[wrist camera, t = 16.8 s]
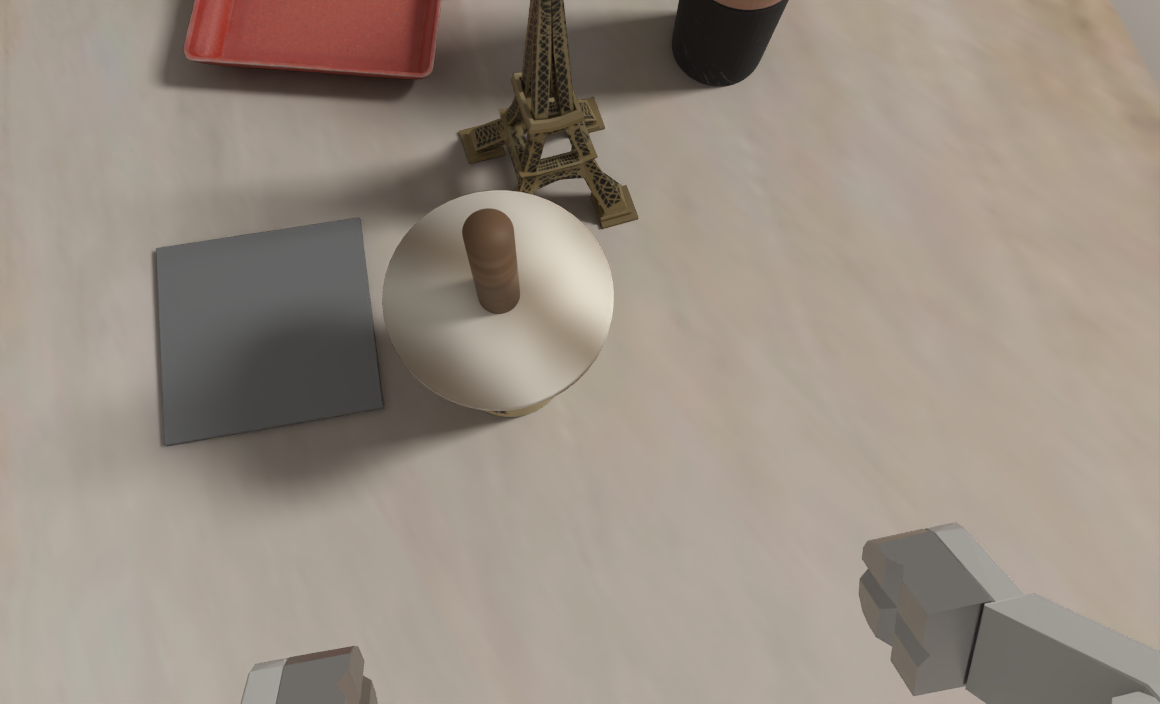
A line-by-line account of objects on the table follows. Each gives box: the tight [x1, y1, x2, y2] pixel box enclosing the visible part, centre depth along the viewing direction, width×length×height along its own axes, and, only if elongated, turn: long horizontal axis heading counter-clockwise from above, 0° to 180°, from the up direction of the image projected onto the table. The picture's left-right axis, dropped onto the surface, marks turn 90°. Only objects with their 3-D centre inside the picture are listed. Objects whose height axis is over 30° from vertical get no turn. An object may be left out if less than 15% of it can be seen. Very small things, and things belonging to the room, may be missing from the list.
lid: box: [382, 190, 614, 411], centre depth 36 cm, size 12×12×8 cm
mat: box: [156, 218, 384, 446], centre depth 52 cm, size 14×14×1 cm
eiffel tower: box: [459, 0, 638, 229], centre depth 44 cm, size 11×11×25 cm
